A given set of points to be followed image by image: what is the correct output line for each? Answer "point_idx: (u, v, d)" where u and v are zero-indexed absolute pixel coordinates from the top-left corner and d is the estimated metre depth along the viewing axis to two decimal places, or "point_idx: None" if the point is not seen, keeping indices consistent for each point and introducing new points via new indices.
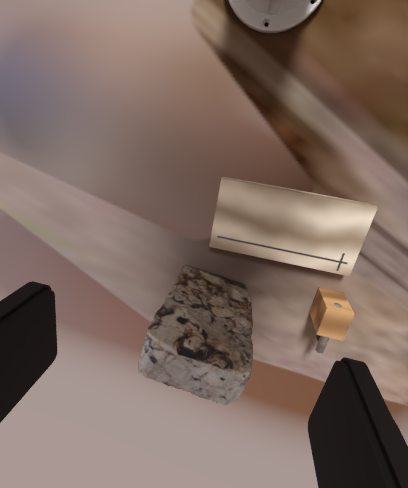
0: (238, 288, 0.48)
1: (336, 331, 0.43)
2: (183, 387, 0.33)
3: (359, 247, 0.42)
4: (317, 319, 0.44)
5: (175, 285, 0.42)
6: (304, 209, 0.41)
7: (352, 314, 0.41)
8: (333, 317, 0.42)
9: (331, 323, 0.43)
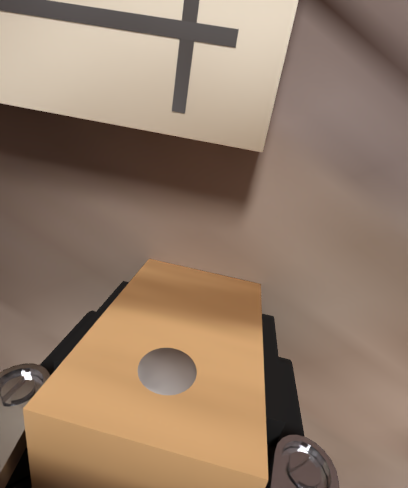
0: None
1: None
2: None
3: None
4: None
5: None
6: None
7: (248, 479, 0.04)
8: (99, 482, 0.05)
9: None
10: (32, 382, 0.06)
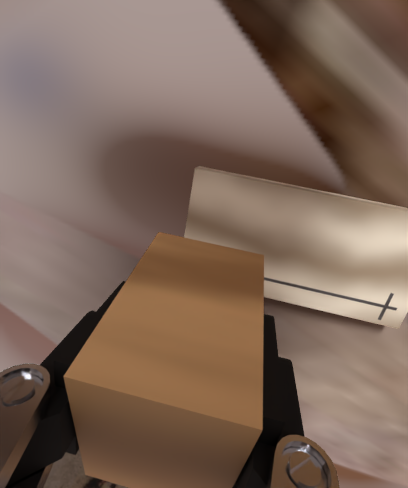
0: None
1: (176, 483, 0.07)
2: None
3: None
4: None
5: None
6: (330, 222, 0.25)
7: (246, 429, 0.05)
8: (128, 427, 0.06)
9: (132, 450, 0.07)
10: (32, 382, 0.06)
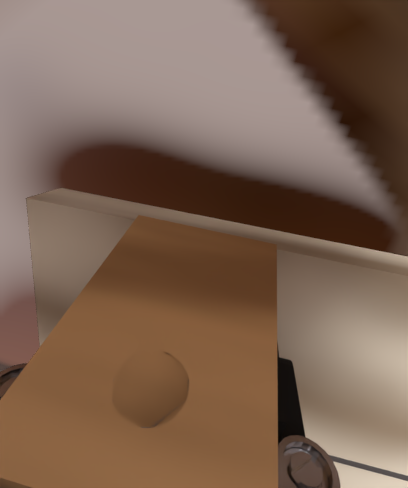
0: None
1: None
2: None
3: None
4: None
5: None
6: (367, 328, 0.10)
7: None
8: None
9: None
10: None
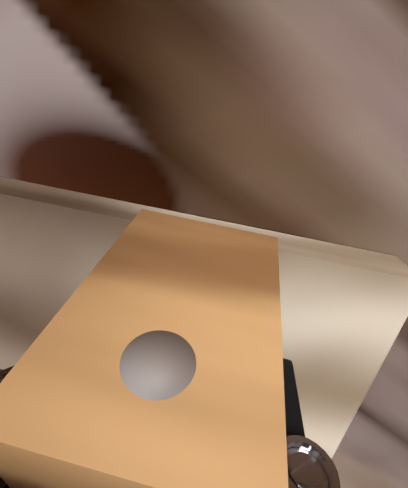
0: None
1: None
2: None
3: (348, 414, 0.11)
4: None
5: None
6: None
7: None
8: None
9: None
10: None
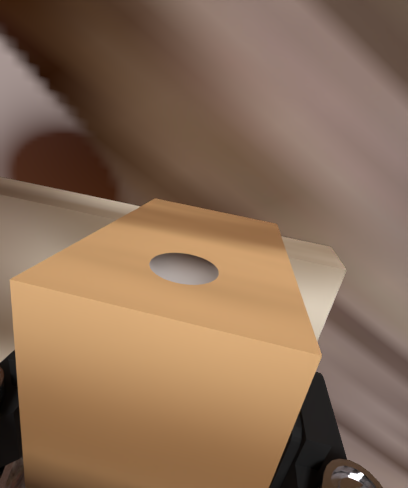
0: None
1: None
2: None
3: None
4: None
5: None
6: None
7: (294, 358, 0.03)
8: (103, 384, 0.04)
9: (105, 440, 0.04)
10: None
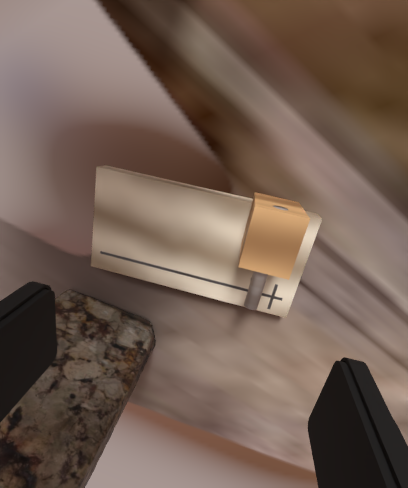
0: (138, 325, 0.34)
1: (276, 260, 0.22)
2: None
3: (298, 277, 0.28)
4: (244, 240, 0.23)
5: None
6: (216, 217, 0.27)
7: (305, 219, 0.20)
8: (268, 228, 0.21)
9: (265, 241, 0.21)
10: None
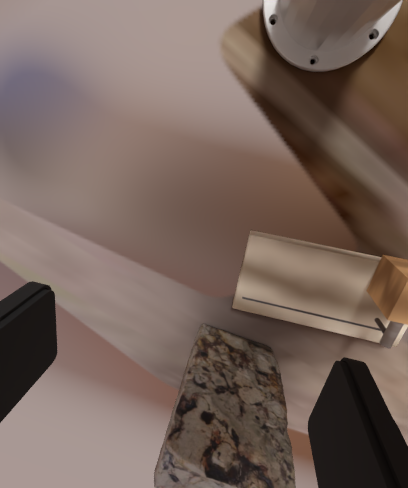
0: (264, 352, 0.42)
1: None
2: None
3: None
4: (388, 298, 0.30)
5: (193, 357, 0.36)
6: (347, 272, 0.35)
7: None
8: None
9: None
10: None
